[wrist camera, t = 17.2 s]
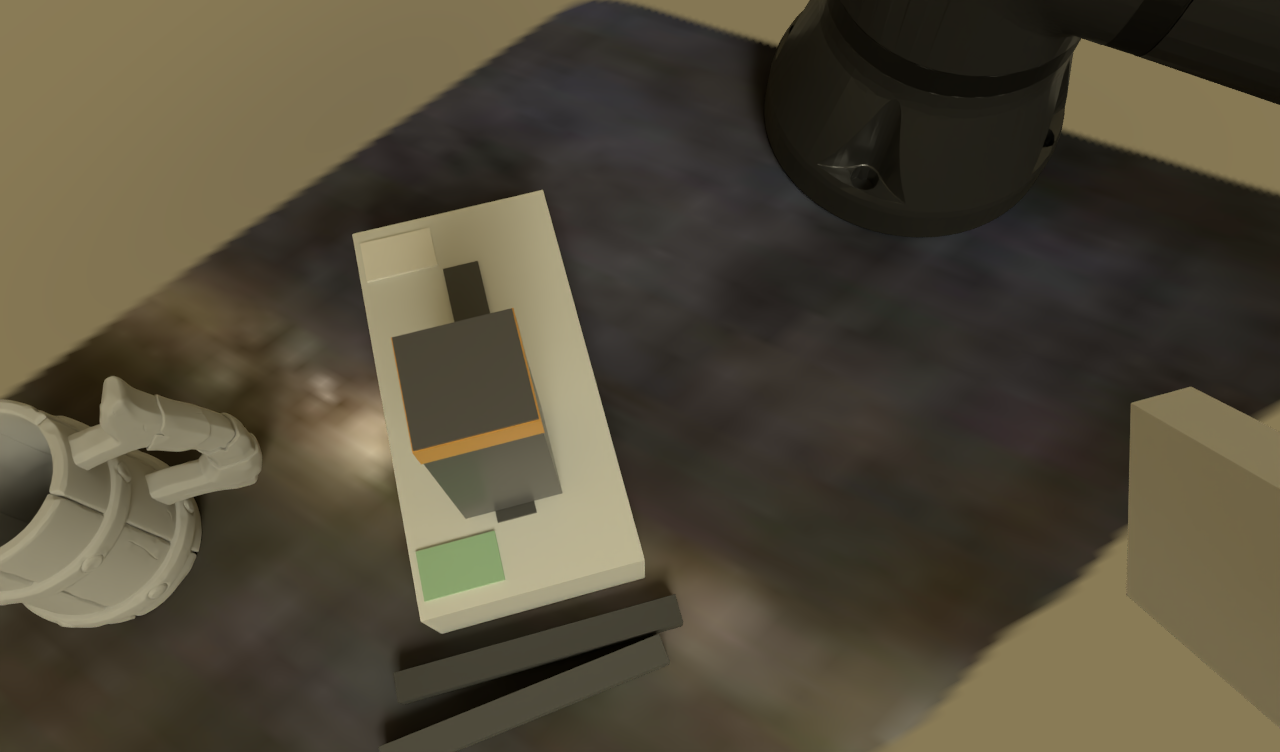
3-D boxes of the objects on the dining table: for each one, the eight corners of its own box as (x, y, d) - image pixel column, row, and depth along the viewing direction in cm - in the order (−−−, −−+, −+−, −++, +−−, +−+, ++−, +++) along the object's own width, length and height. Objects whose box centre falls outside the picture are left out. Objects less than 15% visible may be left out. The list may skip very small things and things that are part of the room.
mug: (17, 505, 41) (-212, 415, 30) (269, 397, 43) (140, 275, 32) (54, 663, 39) (-182, 628, 28) (321, 541, 41) (200, 462, 30)
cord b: (658, 637, 39) (659, 633, 38) (669, 664, 39) (669, 661, 38) (386, 747, 37) (378, 747, 36) (393, 777, 37) (386, 777, 36)
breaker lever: (541, 402, 39) (512, 306, 30) (564, 494, 37) (540, 418, 29) (445, 427, 38) (390, 336, 30) (464, 520, 37) (411, 452, 28)
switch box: (550, 234, 47) (542, 188, 43) (644, 577, 40) (644, 559, 36) (375, 275, 46) (351, 232, 42) (441, 633, 39) (420, 621, 35)
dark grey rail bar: (674, 598, 40) (675, 594, 39) (681, 625, 39) (683, 622, 38) (400, 675, 39) (393, 673, 37) (405, 704, 38) (397, 703, 37)
